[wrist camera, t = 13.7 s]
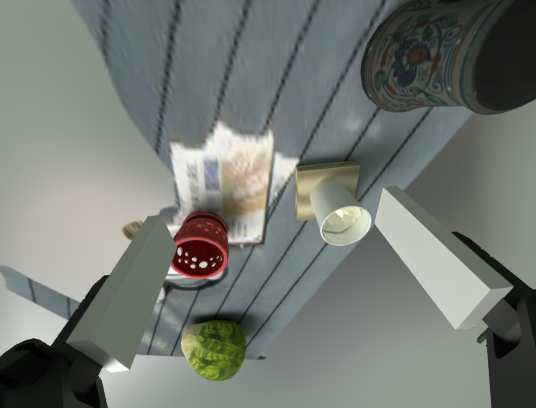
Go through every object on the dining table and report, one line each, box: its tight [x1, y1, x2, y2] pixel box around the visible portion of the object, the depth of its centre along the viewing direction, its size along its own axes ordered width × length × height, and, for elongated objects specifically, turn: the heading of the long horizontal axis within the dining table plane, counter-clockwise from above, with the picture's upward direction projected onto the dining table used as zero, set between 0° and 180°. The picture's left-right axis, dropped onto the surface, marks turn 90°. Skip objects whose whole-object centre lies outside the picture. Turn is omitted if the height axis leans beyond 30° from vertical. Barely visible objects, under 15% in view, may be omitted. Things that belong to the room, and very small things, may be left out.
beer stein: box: [361, 0, 536, 115], centre depth 28 cm, size 16×19×25 cm
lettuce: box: [181, 320, 246, 381], centre depth 75 cm, size 19×23×18 cm
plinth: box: [295, 160, 361, 221], centre depth 51 cm, size 14×14×3 cm
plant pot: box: [170, 212, 229, 278], centre depth 51 cm, size 13×13×12 cm
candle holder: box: [310, 180, 372, 246], centre depth 45 cm, size 10×10×12 cm
